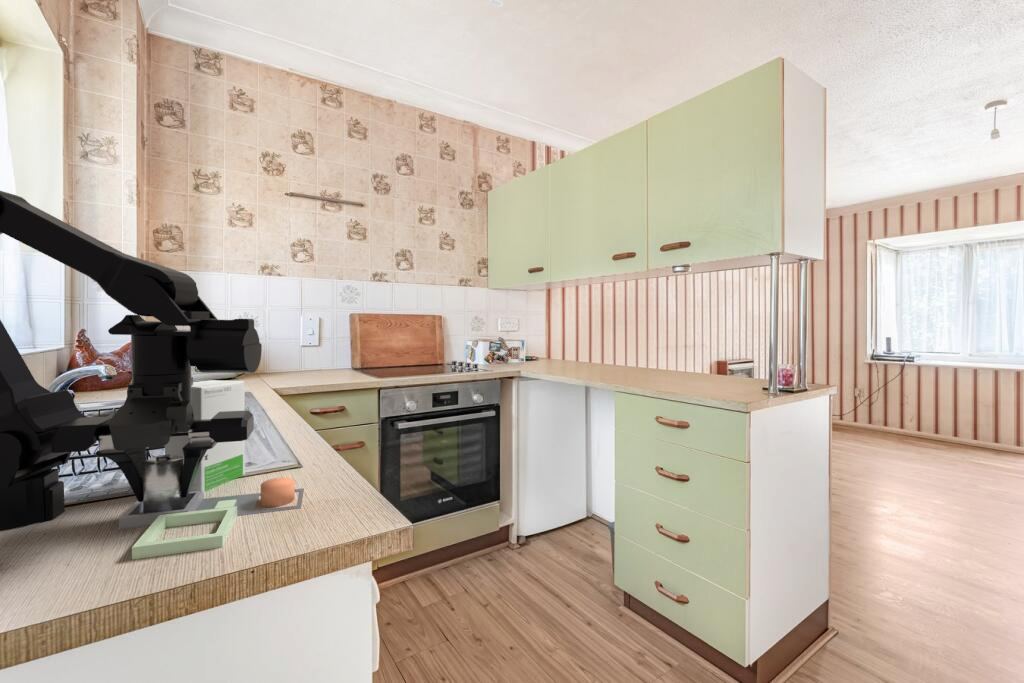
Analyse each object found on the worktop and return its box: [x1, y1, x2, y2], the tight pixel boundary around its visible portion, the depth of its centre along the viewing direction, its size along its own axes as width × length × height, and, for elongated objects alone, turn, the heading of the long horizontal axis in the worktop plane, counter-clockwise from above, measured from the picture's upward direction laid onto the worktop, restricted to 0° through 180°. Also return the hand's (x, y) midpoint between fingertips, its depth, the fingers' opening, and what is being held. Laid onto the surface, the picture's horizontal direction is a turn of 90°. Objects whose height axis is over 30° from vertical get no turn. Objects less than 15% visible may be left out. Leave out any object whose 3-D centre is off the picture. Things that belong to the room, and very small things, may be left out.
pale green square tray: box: [131, 506, 238, 561], centre depth 50 cm, size 8×8×2 cm
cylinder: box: [260, 477, 295, 508], centre depth 60 cm, size 4×4×2 cm
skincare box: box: [164, 379, 246, 493], centre depth 66 cm, size 8×7×16 cm
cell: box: [142, 454, 184, 514], centre depth 55 cm, size 4×4×7 cm
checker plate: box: [115, 488, 305, 531], centre depth 58 cm, size 19×7×2 cm, turn 112°
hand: (164, 498), depth 55 cm, fingers closed on cell, 4 cm apart
